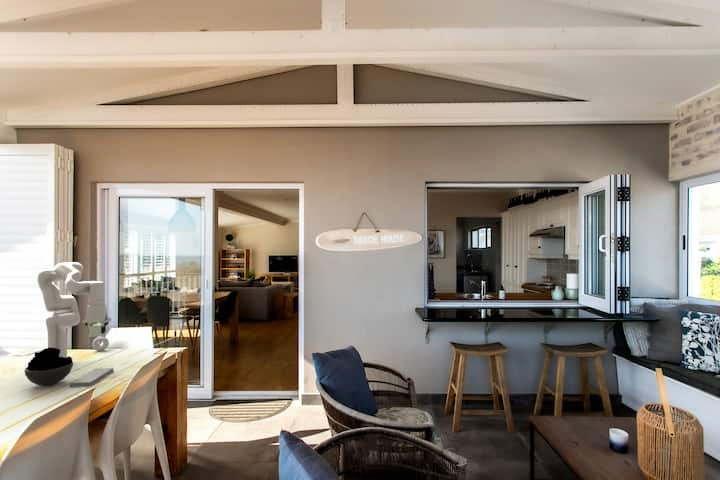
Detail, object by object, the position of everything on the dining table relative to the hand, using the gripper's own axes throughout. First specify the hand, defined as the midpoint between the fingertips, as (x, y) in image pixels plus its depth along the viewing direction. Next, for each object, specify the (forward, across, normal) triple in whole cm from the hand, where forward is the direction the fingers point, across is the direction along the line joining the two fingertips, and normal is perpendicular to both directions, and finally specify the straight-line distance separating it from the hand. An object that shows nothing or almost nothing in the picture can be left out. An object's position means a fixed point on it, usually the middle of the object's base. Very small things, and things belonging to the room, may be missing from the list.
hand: (97, 333), depth 226 cm
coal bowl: (+22, -14, -20) cm, 33 cm away
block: (+1, 0, 0) cm, 1 cm away
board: (+22, +5, -14) cm, 27 cm away
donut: (+22, -21, +49) cm, 58 cm away
